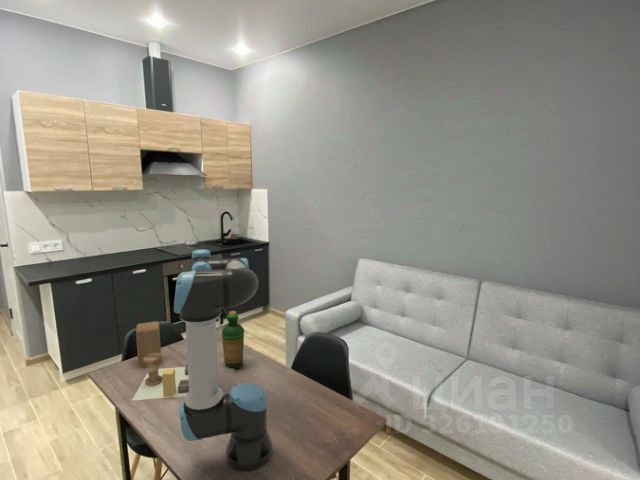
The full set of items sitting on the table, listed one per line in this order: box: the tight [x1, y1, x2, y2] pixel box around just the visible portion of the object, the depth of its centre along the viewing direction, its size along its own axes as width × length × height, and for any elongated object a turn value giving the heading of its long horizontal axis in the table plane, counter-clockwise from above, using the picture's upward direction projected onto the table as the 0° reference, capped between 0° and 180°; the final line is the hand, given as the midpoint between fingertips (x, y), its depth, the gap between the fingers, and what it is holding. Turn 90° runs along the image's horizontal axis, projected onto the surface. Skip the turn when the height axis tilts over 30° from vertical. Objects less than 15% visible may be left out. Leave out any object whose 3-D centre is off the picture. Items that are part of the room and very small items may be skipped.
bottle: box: [221, 310, 245, 370], centre depth 170 cm, size 11×11×28 cm
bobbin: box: [144, 353, 163, 386], centre depth 155 cm, size 7×7×12 cm
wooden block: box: [135, 320, 162, 369], centre depth 171 cm, size 10×10×20 cm
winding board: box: [132, 366, 189, 402], centre depth 156 cm, size 24×22×1 cm
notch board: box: [178, 363, 189, 393], centre depth 157 cm, size 19×4×3 cm, turn 10°
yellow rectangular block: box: [162, 369, 176, 396], centre depth 147 cm, size 4×4×10 cm
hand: (204, 331), depth 154 cm, fingers open, 13 cm apart
